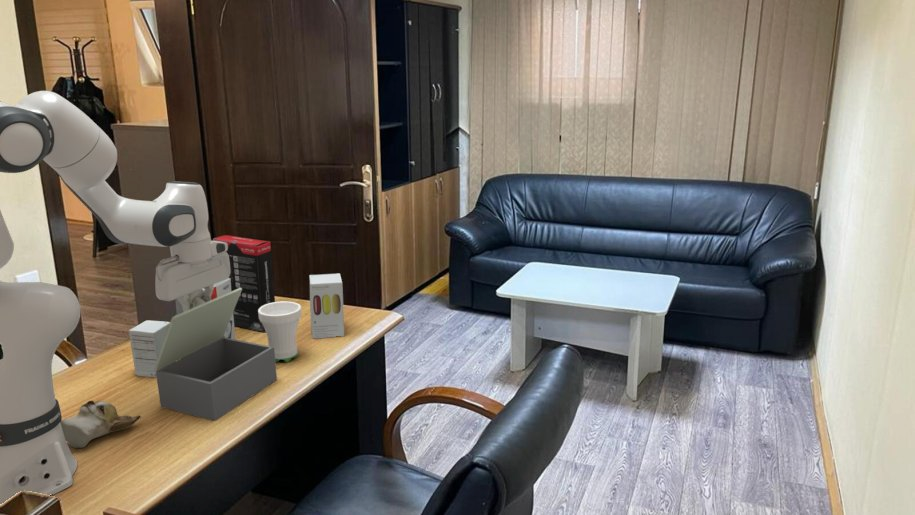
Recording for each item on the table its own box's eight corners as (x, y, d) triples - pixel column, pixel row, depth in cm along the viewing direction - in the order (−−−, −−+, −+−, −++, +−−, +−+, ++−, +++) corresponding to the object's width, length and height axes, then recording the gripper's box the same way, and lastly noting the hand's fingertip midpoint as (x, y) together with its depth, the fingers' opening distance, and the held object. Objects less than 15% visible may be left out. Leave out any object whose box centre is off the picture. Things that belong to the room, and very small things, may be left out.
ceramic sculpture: (42, 408, 138) (107, 382, 151) (46, 446, 140) (110, 418, 153) (77, 420, 134) (141, 392, 147) (81, 459, 136) (143, 428, 149)
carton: (214, 420, 151) (210, 384, 148) (160, 407, 157) (155, 371, 154) (276, 380, 170) (274, 347, 168) (226, 369, 176) (223, 337, 174)
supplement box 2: (312, 339, 195) (308, 284, 191) (311, 327, 204) (307, 274, 199) (345, 336, 197) (342, 281, 193) (343, 325, 206) (340, 272, 201)
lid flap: (175, 315, 147) (158, 302, 148) (155, 371, 154) (139, 358, 155) (243, 286, 166) (227, 274, 167) (223, 337, 174) (208, 325, 175)
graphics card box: (279, 326, 205) (272, 239, 198) (263, 333, 199) (256, 244, 192) (235, 317, 212) (227, 233, 205) (219, 325, 206) (210, 238, 198)
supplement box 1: (152, 363, 179) (146, 319, 176) (177, 366, 178) (172, 321, 174) (134, 376, 172) (127, 329, 169) (160, 378, 171) (154, 332, 167)
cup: (296, 345, 191) (292, 298, 187) (310, 359, 182) (307, 310, 178) (256, 354, 185) (252, 306, 181) (269, 369, 176) (265, 318, 172)
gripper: (166, 263, 145) (173, 324, 148) (232, 242, 163) (237, 296, 166) (144, 260, 147) (152, 320, 151) (212, 239, 165) (217, 293, 169)
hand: (197, 307), depth 159 cm, fingers closed on lid flap, 4 cm apart
